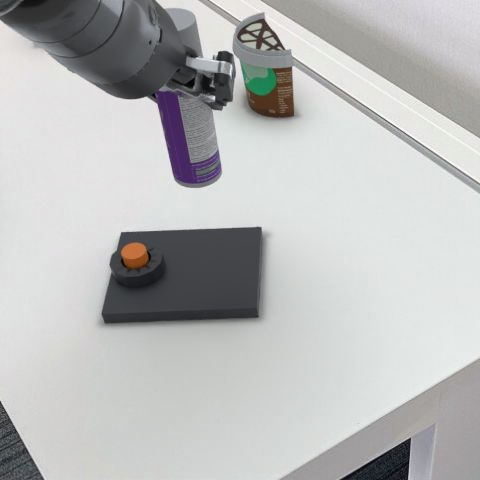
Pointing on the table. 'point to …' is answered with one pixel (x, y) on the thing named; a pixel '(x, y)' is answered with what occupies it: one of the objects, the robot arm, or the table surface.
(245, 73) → the food container
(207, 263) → the scale
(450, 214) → the table surface
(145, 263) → the button
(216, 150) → the container
